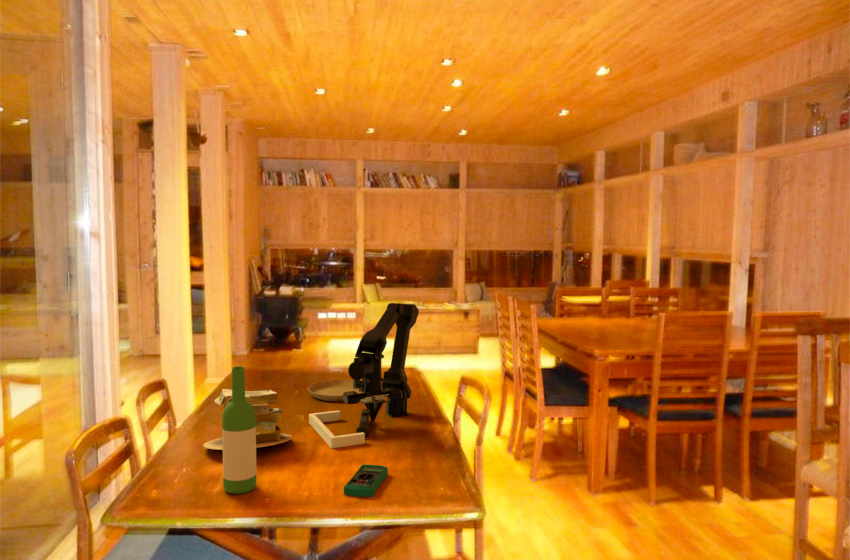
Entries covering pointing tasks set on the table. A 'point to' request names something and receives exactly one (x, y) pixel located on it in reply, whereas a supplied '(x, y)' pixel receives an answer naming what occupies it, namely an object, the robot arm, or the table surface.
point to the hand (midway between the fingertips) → (372, 421)
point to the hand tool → (364, 423)
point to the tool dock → (328, 437)
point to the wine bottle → (239, 439)
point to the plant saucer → (331, 389)
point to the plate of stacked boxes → (257, 418)
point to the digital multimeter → (366, 481)
